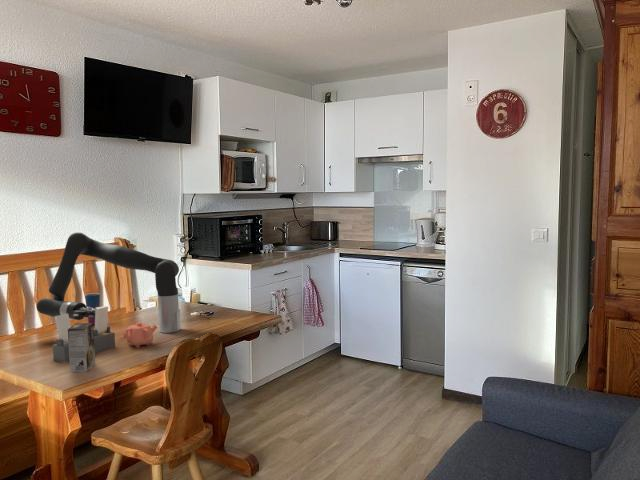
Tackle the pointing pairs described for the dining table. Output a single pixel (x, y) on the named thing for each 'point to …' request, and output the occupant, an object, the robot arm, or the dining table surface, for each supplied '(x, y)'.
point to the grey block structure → (100, 343)
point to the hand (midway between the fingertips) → (100, 313)
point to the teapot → (139, 334)
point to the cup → (92, 304)
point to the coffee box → (81, 347)
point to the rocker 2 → (101, 319)
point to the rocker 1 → (63, 326)
